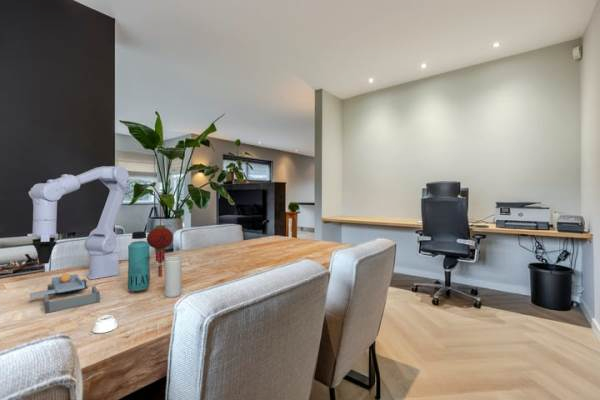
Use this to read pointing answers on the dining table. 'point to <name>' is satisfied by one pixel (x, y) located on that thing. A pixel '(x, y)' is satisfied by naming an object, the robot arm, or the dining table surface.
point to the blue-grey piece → (62, 286)
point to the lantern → (160, 242)
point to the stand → (70, 290)
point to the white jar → (105, 324)
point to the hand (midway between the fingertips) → (43, 261)
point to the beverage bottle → (138, 263)
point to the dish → (71, 301)
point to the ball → (65, 278)
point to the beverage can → (172, 277)
